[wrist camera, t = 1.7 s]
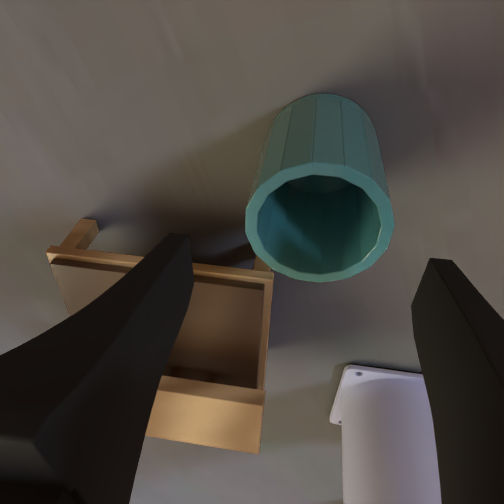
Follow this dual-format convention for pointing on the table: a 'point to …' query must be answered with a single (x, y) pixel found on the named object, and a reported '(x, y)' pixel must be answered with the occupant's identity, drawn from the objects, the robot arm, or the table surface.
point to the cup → (320, 192)
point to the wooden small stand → (192, 343)
